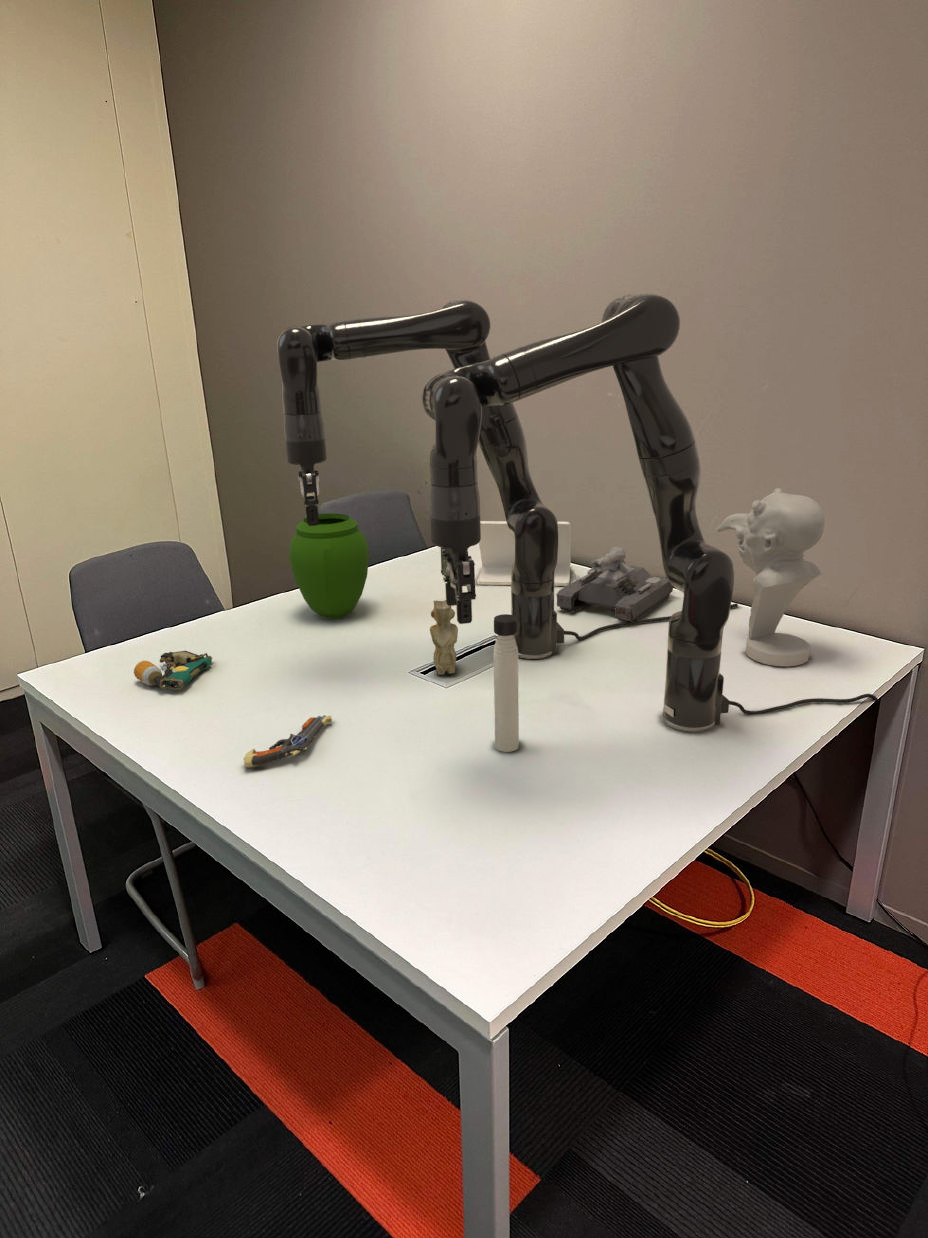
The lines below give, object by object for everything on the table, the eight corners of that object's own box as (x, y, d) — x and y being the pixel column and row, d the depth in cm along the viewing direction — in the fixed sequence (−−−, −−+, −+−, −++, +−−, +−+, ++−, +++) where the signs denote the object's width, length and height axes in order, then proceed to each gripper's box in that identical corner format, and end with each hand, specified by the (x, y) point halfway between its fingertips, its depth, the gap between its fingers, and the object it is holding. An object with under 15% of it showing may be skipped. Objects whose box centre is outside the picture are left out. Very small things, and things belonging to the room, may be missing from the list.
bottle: (514, 738, 151) (513, 614, 143) (522, 749, 147) (521, 623, 139) (492, 742, 150) (489, 617, 142) (499, 753, 146) (497, 626, 138)
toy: (603, 584, 229) (605, 530, 224) (673, 597, 218) (677, 540, 213) (555, 612, 210) (556, 553, 205) (630, 627, 199) (633, 566, 194)
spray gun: (177, 659, 191) (231, 671, 185) (120, 684, 176) (176, 698, 171) (176, 641, 190) (230, 653, 184) (118, 665, 175) (174, 678, 169)
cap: (512, 626, 144) (512, 612, 143) (520, 634, 140) (520, 620, 139) (490, 629, 143) (490, 615, 142) (498, 637, 139) (497, 623, 138)
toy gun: (238, 757, 142) (294, 755, 140) (282, 713, 160) (332, 710, 158) (241, 772, 143) (297, 770, 141) (284, 726, 161) (334, 724, 159)
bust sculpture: (744, 623, 200) (759, 474, 187) (830, 658, 180) (852, 494, 167) (692, 637, 193) (703, 483, 180) (775, 674, 173) (793, 504, 160)
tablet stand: (569, 585, 229) (570, 524, 223) (476, 584, 232) (475, 523, 226) (570, 566, 246) (571, 508, 240) (484, 564, 249) (483, 507, 243)
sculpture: (458, 662, 183) (456, 596, 178) (460, 676, 176) (457, 608, 171) (431, 663, 183) (428, 597, 177) (431, 677, 176) (428, 609, 171)
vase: (389, 608, 216) (383, 514, 208) (339, 633, 201) (330, 533, 192) (330, 596, 226) (322, 506, 218) (278, 619, 211) (267, 523, 202)
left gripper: (326, 441, 157) (333, 527, 162) (323, 430, 170) (329, 510, 175) (285, 443, 155) (293, 530, 161) (284, 432, 168) (292, 513, 174)
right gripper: (490, 521, 122) (493, 626, 128) (469, 500, 135) (472, 596, 141) (439, 525, 121) (444, 632, 127) (422, 504, 134) (427, 601, 140)
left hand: (312, 520), depth 168 cm, fingers open, 8 cm apart
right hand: (458, 613), depth 134 cm, fingers open, 8 cm apart
